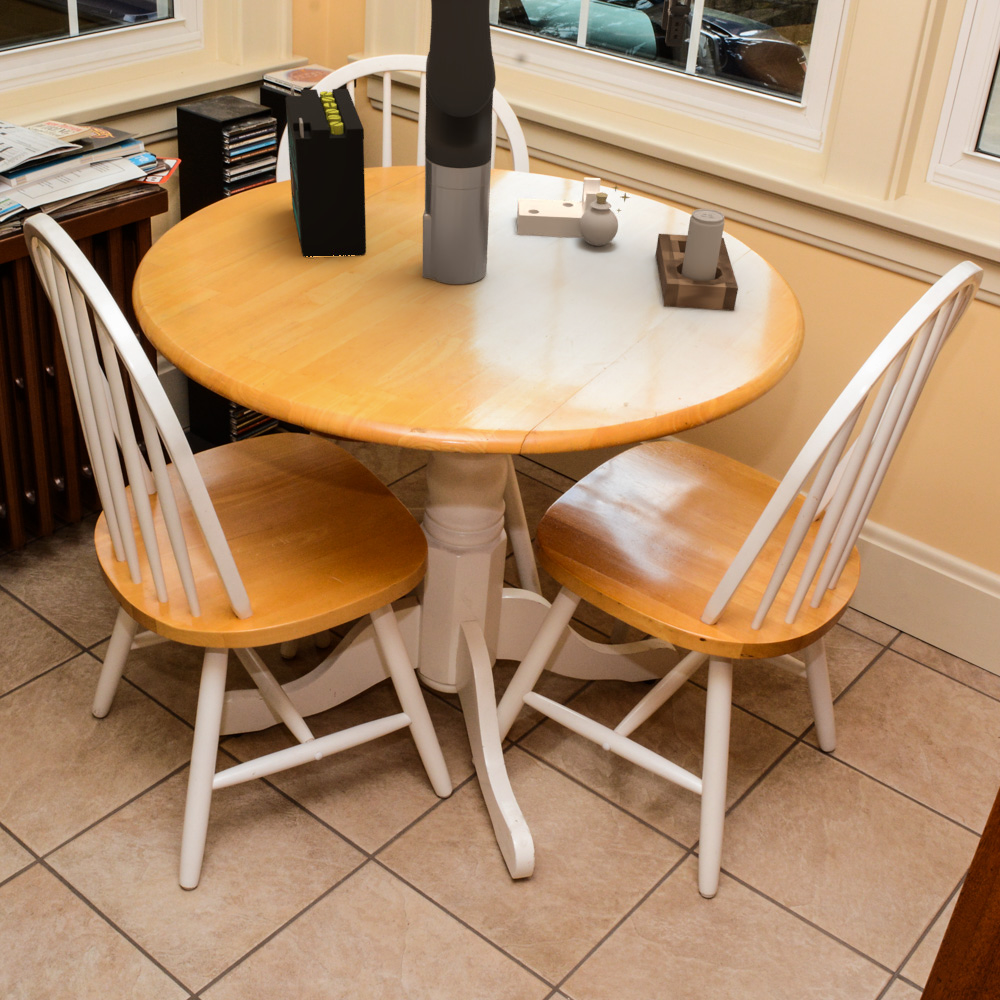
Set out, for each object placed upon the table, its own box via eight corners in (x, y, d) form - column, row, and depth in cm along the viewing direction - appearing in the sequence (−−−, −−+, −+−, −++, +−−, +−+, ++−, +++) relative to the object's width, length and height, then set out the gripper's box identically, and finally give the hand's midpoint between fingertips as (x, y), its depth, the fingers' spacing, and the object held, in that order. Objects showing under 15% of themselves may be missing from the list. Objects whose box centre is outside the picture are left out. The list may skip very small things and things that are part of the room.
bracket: (595, 222, 185) (600, 178, 180) (598, 240, 179) (603, 194, 175) (516, 219, 184) (519, 174, 180) (517, 236, 179) (520, 190, 174)
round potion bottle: (578, 235, 180) (584, 174, 174) (624, 239, 179) (632, 178, 173) (576, 250, 175) (582, 187, 169) (624, 254, 174) (632, 192, 168)
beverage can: (710, 302, 162) (724, 223, 155) (677, 297, 162) (689, 218, 155) (712, 288, 166) (726, 210, 159) (680, 284, 166) (692, 206, 159)
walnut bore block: (664, 306, 160) (667, 283, 158) (655, 254, 175) (658, 233, 172) (733, 310, 160) (738, 288, 158) (719, 258, 174) (723, 237, 172)
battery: (292, 209, 182) (284, 84, 171) (351, 207, 184) (347, 83, 173) (302, 258, 167) (294, 124, 156) (366, 255, 169) (363, 122, 158)
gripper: (656, -106, 149) (641, 23, 158) (663, -89, 137) (646, 49, 147) (712, -102, 149) (693, 27, 158) (724, -85, 137) (703, 53, 147)
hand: (671, 37), depth 153 cm, fingers open, 8 cm apart
